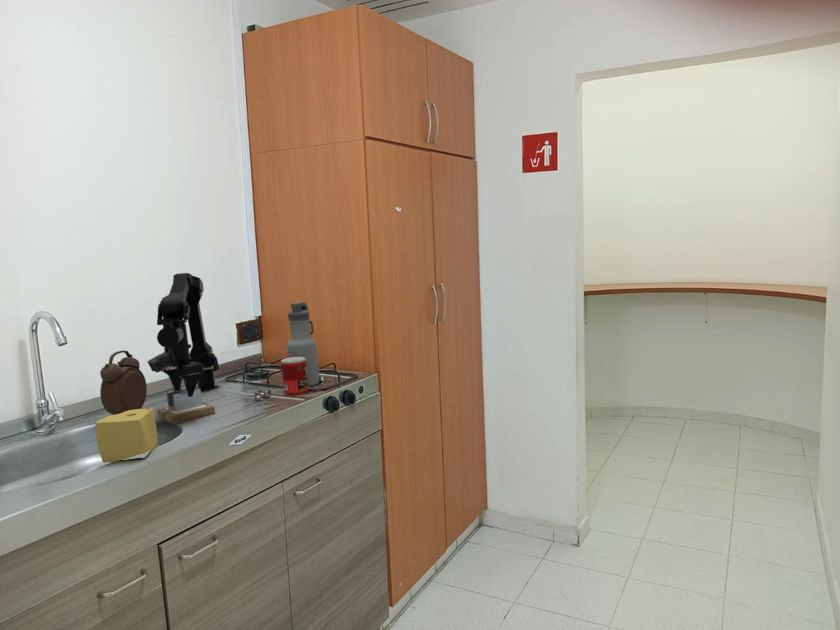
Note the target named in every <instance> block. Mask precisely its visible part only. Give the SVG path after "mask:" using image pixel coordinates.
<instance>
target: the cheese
mask: <svg viewBox="0 0 840 630" xmlns="http://www.w3.org/2000/svg"><path fill="white" fill-rule="evenodd" d="M156 423H157V422H156V416H155V411H154V408H153V407H152V408H141V409H134V410H128V411H125V412H123V413H120V414H116V415H113V414H111V415H108V416H104V417H103V418H101V419H99V420H98V421H97V422H96V423H95V435H96V436H95V438H96V443H97V447H98V451H99V454H100V457H101V460H102V463H113V462H114V463H115V462H120V461H119V460H122V459H126V458H130V457H133V456H136V455H139V454H143V453H144V454H145V452H148V451H150V450H152V449H153V450H155V448H156V447H157V446H158V432H157V431H158V430H157V425H156ZM153 450H152V451H153Z"/></svg>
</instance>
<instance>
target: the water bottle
mask: <svg viewBox="0 0 840 630" xmlns="http://www.w3.org/2000/svg"><path fill="white" fill-rule="evenodd" d="M290 308H291V310H290V311H289V312H288V313H287V317H288V318H287V319H288V322H289V331H290V339H289V340H288V341H287V343H286V350H287V351H286V352H287V358H290V357H304V358H305V359H306V367H307V378H308V388H310V387H313V386H316V385H318V384H319V382H320V371H319V362H318V349H317V340H315V339H314V338H313V337H312V335H313V334H314V323H313V321H312V320H311V318H310V311H309V308H308V305H307V303H306V302H304V301H302V302H293V303H290Z"/></svg>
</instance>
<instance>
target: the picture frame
mask: <svg viewBox="0 0 840 630" xmlns="http://www.w3.org/2000/svg"><path fill="white" fill-rule="evenodd" d="M156 411H157V417H158V418H159V419H162V420H164V421H166V422H168V423H171V424H173V425H176V424H177V425H178V424H180V423H185V422H188V421H193V420H196V419H199V418H203V417H206V416H211V415H215V413H216V411H215V406H214V405H212V404H209V403H205V402H203V401H202V405H201V406H197V407H193V408H189V409H185V410H180V411H176V412H175V411H172V410H170V409H169V408H168V406H167V407H164V408H160V409H157V410H156Z"/></svg>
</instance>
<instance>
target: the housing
mask: <svg viewBox="0 0 840 630" xmlns="http://www.w3.org/2000/svg"><path fill="white" fill-rule="evenodd" d="M201 392H202V391H201V390H200V388H197V389H195V390H194V393H193V396H192V397H188V394H187V391H186V387H185V388H180V389H179V390H172V391H167V392H166V399H167V407H168V408H169V409H170V410H172V411H175V412H176V411H180V410H185V409H189V408H193V407H197V406H201V405H202V402H203V400H202V393H201Z"/></svg>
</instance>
